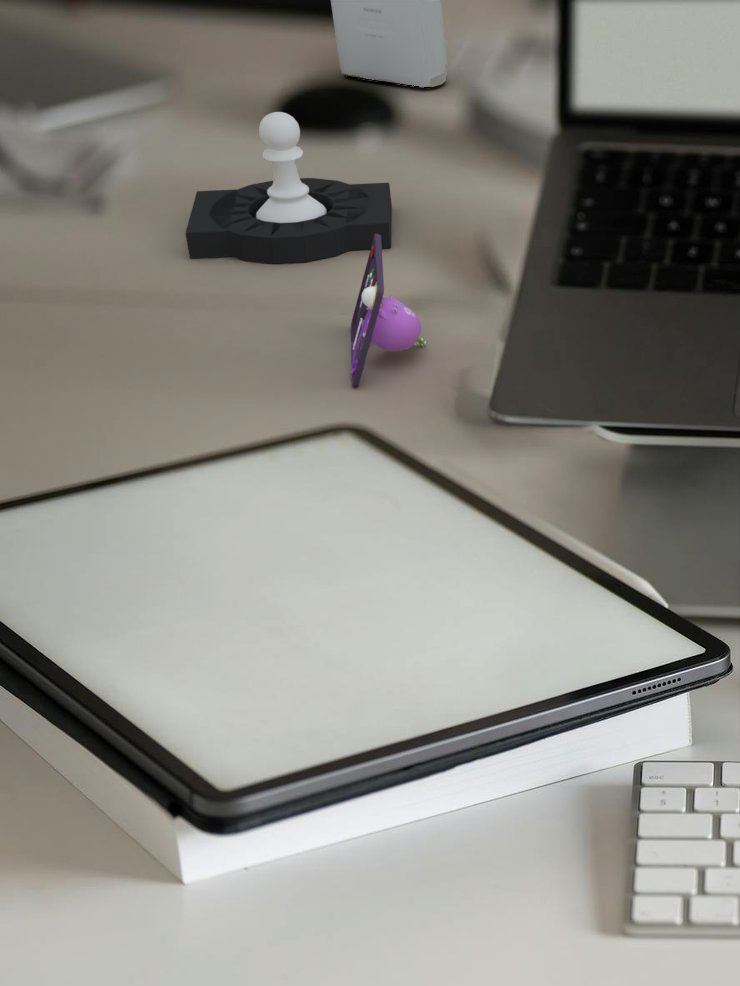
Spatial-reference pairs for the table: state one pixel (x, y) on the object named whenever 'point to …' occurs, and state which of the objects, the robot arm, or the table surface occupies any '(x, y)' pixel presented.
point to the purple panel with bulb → (379, 316)
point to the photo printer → (390, 39)
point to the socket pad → (236, 232)
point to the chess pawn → (285, 173)
